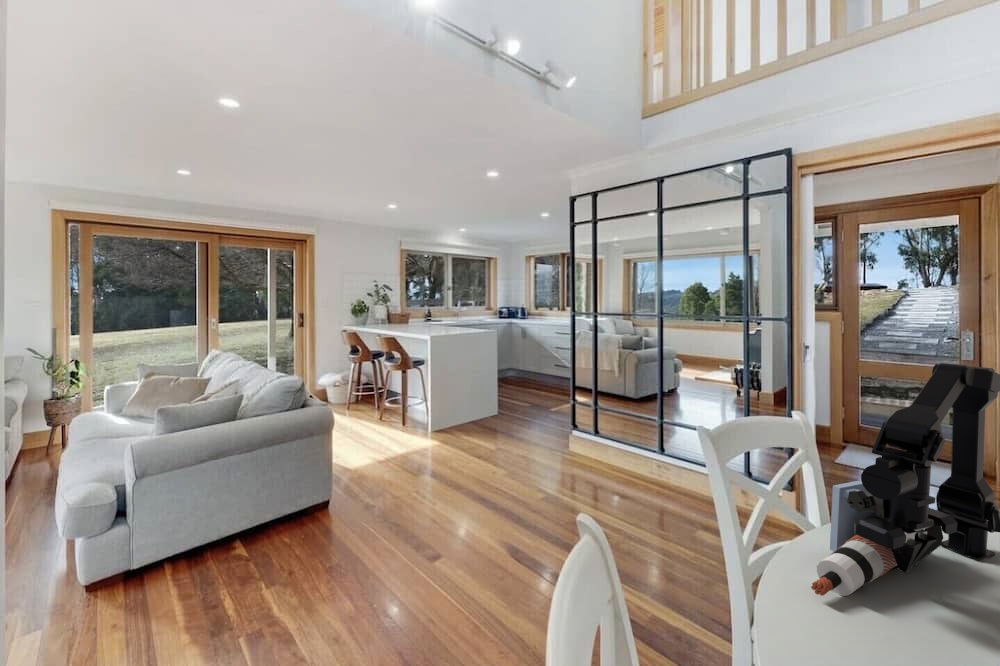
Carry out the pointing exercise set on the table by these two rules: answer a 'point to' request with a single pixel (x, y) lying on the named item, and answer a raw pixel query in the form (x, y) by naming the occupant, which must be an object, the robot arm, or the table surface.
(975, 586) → the table surface
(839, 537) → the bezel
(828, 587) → the cable
